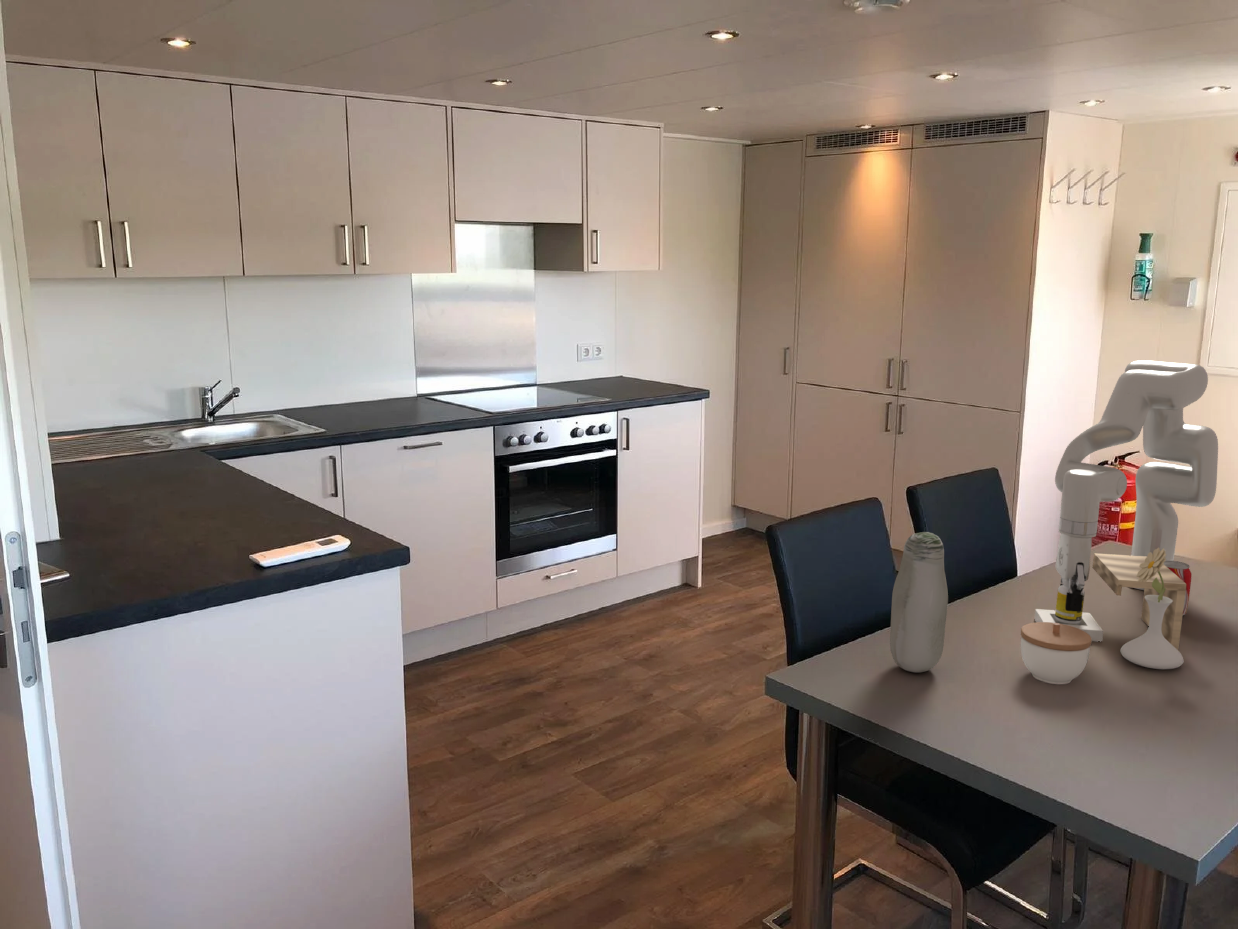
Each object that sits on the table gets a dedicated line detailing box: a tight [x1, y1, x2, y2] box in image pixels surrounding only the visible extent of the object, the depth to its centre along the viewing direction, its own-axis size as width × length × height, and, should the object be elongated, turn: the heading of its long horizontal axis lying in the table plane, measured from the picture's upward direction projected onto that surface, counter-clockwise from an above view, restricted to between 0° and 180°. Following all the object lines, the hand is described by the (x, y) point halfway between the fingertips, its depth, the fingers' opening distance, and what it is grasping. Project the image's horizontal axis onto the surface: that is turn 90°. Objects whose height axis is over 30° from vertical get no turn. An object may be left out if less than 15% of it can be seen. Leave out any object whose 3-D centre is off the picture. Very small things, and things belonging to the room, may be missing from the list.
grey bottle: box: [889, 531, 949, 673], centre depth 193 cm, size 10×10×28 cm
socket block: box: [1034, 608, 1104, 643], centre depth 218 cm, size 12×12×2 cm
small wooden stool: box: [1091, 553, 1186, 651], centre depth 216 cm, size 20×13×15 cm, turn 168°
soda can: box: [1164, 560, 1192, 616], centre depth 228 cm, size 7×7×12 cm
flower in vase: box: [1120, 548, 1185, 670], centre depth 197 cm, size 13×11×25 cm
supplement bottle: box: [1055, 577, 1085, 624], centre depth 217 cm, size 5×5×10 cm
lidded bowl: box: [1020, 621, 1093, 685], centre depth 192 cm, size 13×13×11 cm
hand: (1069, 605), depth 217 cm, fingers closed on supplement bottle, 5 cm apart
